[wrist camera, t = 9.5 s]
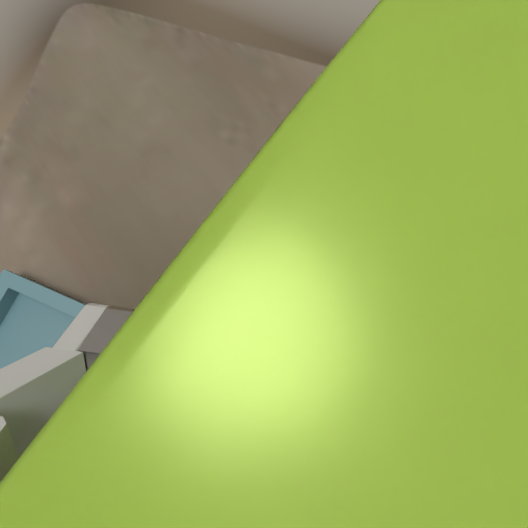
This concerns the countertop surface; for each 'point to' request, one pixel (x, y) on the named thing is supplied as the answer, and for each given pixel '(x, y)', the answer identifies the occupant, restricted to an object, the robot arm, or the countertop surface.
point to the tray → (31, 316)
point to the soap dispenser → (330, 314)
